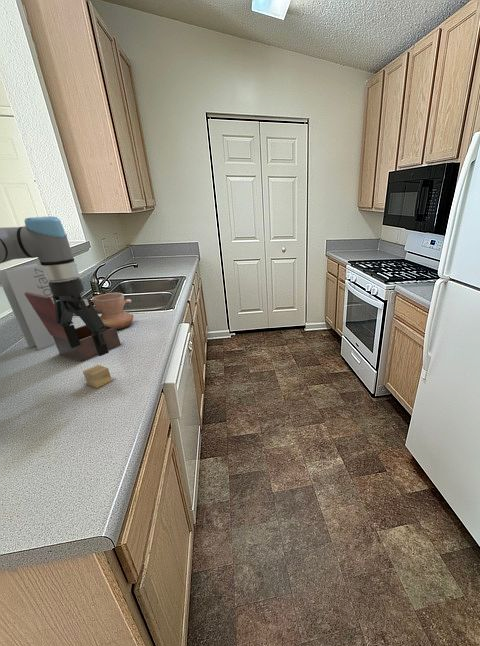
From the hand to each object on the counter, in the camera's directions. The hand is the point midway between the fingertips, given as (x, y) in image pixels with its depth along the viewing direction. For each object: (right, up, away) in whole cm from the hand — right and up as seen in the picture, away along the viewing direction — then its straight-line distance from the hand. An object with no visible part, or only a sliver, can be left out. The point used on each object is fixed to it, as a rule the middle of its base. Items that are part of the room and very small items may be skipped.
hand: (89, 350), depth 99 cm
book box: (-17, +1, +27) cm, 32 cm away
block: (0, -10, +5) cm, 12 cm away
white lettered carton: (-37, +4, +35) cm, 51 cm away
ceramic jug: (-20, +12, +49) cm, 54 cm away
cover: (-21, +12, +13) cm, 28 cm away
